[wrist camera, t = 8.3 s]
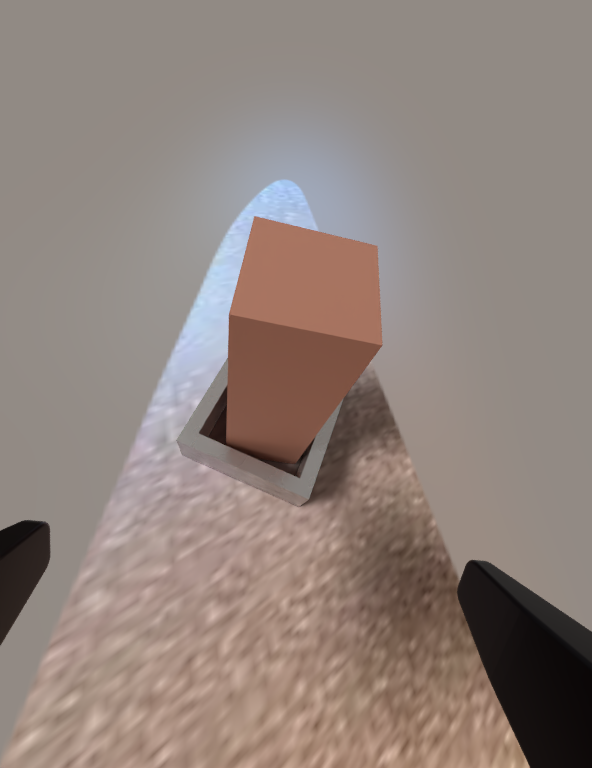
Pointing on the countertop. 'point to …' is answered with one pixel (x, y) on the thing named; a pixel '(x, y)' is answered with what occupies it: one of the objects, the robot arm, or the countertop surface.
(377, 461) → the countertop surface
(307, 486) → the gray square planter
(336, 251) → the salmon brown rectangular block
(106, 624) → the countertop surface
